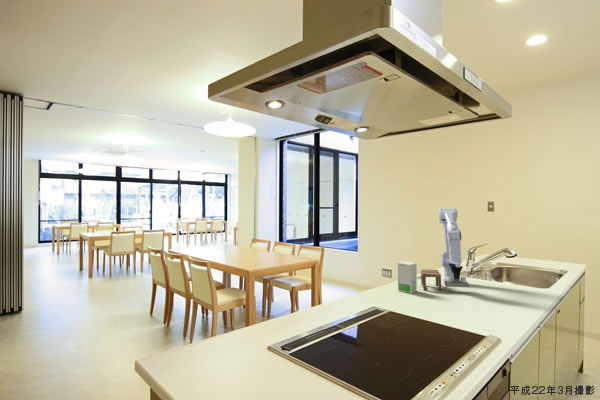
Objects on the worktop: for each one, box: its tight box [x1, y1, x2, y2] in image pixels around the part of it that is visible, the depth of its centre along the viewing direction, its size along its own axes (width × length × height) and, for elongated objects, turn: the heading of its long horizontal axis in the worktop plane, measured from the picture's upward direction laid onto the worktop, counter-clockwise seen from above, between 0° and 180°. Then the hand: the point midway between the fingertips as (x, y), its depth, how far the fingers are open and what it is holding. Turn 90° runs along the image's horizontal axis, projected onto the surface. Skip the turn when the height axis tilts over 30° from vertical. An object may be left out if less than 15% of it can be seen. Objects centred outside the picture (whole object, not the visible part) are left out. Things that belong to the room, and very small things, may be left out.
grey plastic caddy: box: [443, 273, 470, 288], centre depth 170 cm, size 5×11×6 cm, turn 75°
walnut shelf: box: [420, 269, 442, 292], centre depth 179 cm, size 12×9×9 cm
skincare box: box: [397, 260, 418, 294], centre depth 175 cm, size 8×7×16 cm
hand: (456, 278), depth 170 cm, fingers closed on grey plastic caddy, 4 cm apart
